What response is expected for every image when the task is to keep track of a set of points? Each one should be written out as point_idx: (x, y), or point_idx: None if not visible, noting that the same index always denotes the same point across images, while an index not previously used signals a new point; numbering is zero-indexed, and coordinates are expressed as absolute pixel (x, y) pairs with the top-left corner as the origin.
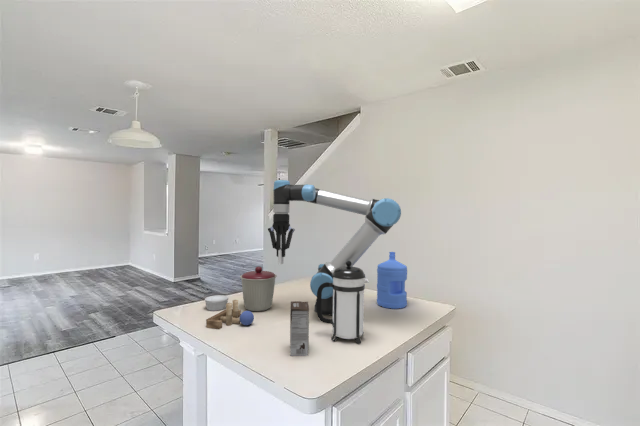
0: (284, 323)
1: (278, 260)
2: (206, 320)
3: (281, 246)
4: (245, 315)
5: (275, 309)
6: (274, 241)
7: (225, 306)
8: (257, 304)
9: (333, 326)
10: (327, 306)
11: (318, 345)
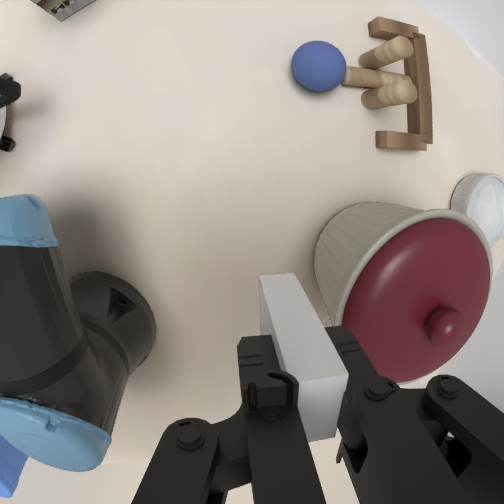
0: (186, 130)
1: (300, 291)
2: (422, 35)
3: (305, 443)
4: (317, 43)
5: (292, 263)
6: (486, 475)
7: (453, 207)
8: (352, 209)
9: None
10: (76, 289)
11: (35, 35)
